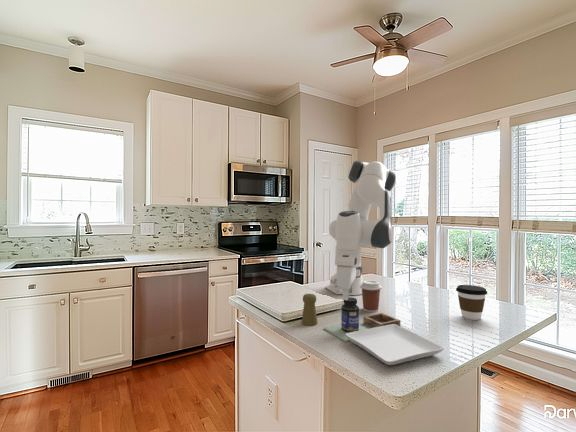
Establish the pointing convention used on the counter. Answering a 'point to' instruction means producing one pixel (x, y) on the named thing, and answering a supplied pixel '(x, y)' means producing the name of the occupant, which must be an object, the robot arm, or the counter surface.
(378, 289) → the coffee cup
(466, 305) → the coffee cup
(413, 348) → the salad plate
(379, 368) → the counter surface
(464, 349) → the counter surface
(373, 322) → the walnut collar
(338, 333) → the sage mat
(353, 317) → the pill bottle
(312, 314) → the cork
